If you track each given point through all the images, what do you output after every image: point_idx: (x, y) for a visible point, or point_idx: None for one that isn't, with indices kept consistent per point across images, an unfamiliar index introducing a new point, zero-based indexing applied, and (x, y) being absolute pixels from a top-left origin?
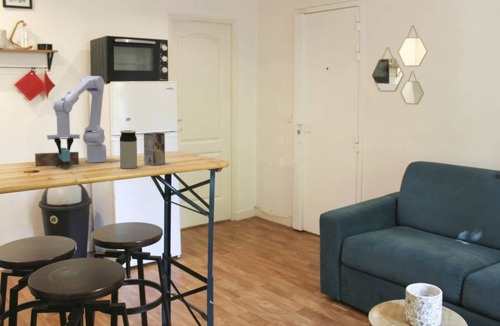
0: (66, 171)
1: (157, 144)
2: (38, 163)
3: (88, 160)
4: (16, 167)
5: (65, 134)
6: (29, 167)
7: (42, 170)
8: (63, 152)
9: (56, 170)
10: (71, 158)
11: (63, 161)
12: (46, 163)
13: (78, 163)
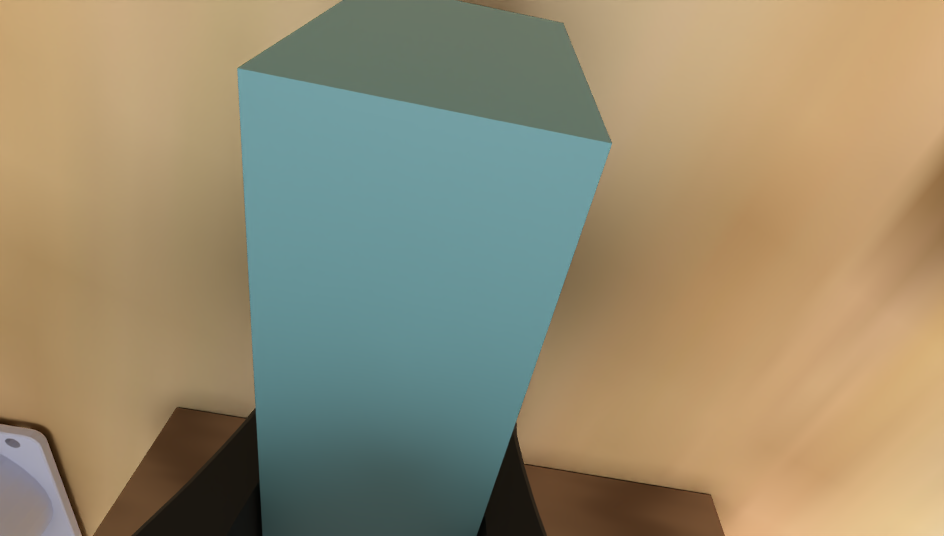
0: None
1: None
2: (690, 524)
3: (28, 486)
4: (924, 528)
5: None
6: (818, 472)
7: (882, 163)
8: (587, 109)
9: (692, 17)
10: None
11: (561, 28)
12: (592, 502)
13: (175, 415)
